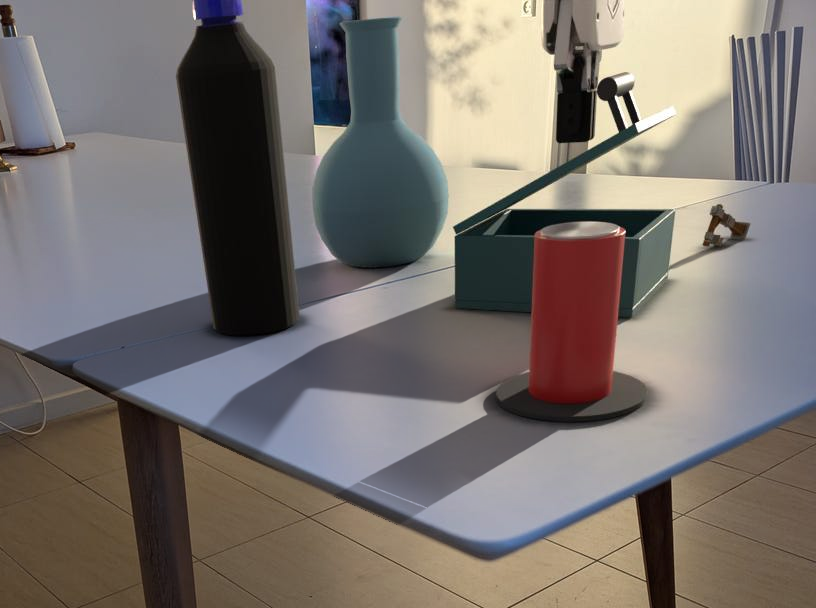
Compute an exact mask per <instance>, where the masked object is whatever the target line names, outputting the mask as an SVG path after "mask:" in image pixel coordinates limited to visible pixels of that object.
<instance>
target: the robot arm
mask: <svg viewBox="0 0 816 608" xmlns="http://www.w3.org/2000/svg"><path fill="white" fill-rule="evenodd" d="M625 3H626V2H625V0H541V11H540V12H541V16H540V19H541V20H540V28H541V29H540V30H541V33H540V34H541V35H540V36H541V46H542V49H543V50H544V51H545V52H546V53H547V54H549V55H551V56H554V57H553V70H554V71H555V72H556V92H557V97H556V122H555V123H556V126H555V141H556V143H557V144H575V143H587V142H589V141H592V140H593V139H594V138H595V135H596V119H597V102H598V101H597V100H598V95H597V87H598V84H599V76H600V75H599V74H600V65H601V64H600V63H601V61H602V57H603V51H604V50H609V49H613V48H616V47H617V46H619V45H620V43H621V42H622V40H623V38H624V29H625V28H624V27H625ZM580 47H582V49H577V48H580Z"/></svg>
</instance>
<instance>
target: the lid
mask: <svg viewBox="0 0 816 608" xmlns="http://www.w3.org/2000/svg"><path fill="white" fill-rule="evenodd" d="M634 87H635V77H634V76H633V74H632V73H630V72H628V71H624V72H619V73H616V74H612V75H610V76H606V77H604V78H602V79H601V80H600V81H598V85H597V89H596V90H597V98H599V100H601V101H603V102H607V104H608V107H609V109H610V112H611V115H612V118H613V120H614V123H615V126H616V128H617V132H618V133H616V134H614V135H612V136H610V137H609V138H607V139H604V140H603V141H601V142H599V143H598V144H596V145H594V146H592V147H591V148H589V149H587V150H585V151H584V152H582V153H580V154H578V155H577V156H574V157H573V158H571V159H569V160H568V161H566V162H564V163H563V164H561V165H558V166H557V167H555V168H554V169H552V170H550V171H549V172H547V173H545V174H543V175H541V176H539V177H538V178H536V179H534V180H533V181H531V182H529V183H526V184H525V185H524V186H522V187H520V188H518V189H516V190H515V191H513V192H511V193H509V194H508V195H506V196H503V198H501V199H499V200H497V201H496V202H493V203H491V204H490V205H488V206H486V207H485V208H483V209H481V210H480V211H478V212H476V213H474V214H472V215H471V216H469V217H467V218H466V219H464V220H462V221H460V222H458V223H457V224H454V225H453V226H452V229H453V231H454V233H455V236H456V235H458V234H460V233H462V232H463V231H465V230H467V229H469V228H471V227H473V226H475V225H477V224H479V223H481V222H483V221H485V220H487V219H489V218H491V217H492V216H494V215H496V214H498V213H500V212H502V211H504V210H506V209H510V208H511V207H513V206H515V205H516V204H519V203H520V202H522V201H523V200H525V199H527V198H529V197H531V196H532V195H534V194H536V193H538V192H540V191H541V190H543V189H545V188H547V187H548V186H550V185H552V184H554V183H556V182H557V181H559V180H561V179H563V178H565V177H567V176H569V175H570V174H571V173H573V172H575V171H578V170H579V169H581V168H582V167H584V166H586V165H588V164H590V163H592V162H594V161H595V160H597V159H599V158H601V157H602V156H604V155H606V154H608V153H610V152H611V151H613V150H615V149H617V148H618V147H621V146H623V145H624V144H626V143H628V142H630V141H631V140H633V139H634V138H636V137H639V136H640V135H642V134H644V133H646V132H647V131H649V130H651V129H653V128H655V127H656V126H658V125H660V124H662V123H664V122H665V121H667V120H669V119H671V118H672V117H674V116H676V115H677V112H676V109H675V106H674V105H672V106H670V107H667V108H666V109H664V110H661V111H659V112H657V113H655V114H652V115H650V116H648V117H646V118H644V119H642V118H641V115H640V111H639V109H638V107H637V104H636V100H635V98H634V95H633V92H632V90H633V89H634ZM620 97H622V99H623V103H624V105H625V108H626V111H627V113H628V116H629V119H630V123H631V125H629V126H628V124H627V121H626V117H625V115H624V113H623V110H622V107H621V104H620V101H619V99H618V98H620Z"/></svg>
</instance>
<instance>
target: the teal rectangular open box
mask: <svg viewBox="0 0 816 608" xmlns="http://www.w3.org/2000/svg"><path fill="white" fill-rule="evenodd" d="M675 217H676V209H675V208H507V209H505V210H503V211H501V212H499V213H497V214H495V215H494V216H492V217H490V218H488V219H486V220H484V221H482V222H480V223H478V224H476V225H474V226H472V227H470V228H468V229H466V230H464V231H463V232H461V233H459V234H457V235H456V234H455V235H454V308H455V309H463V310H479V311H480V310H483V311H484V310H485V311H503V312H517V313H518V312H520V313H532V289H533V263H534V237H535V233H536V232H537V231H539V230H542V229H543V228H545V227H548V226H551V225H556V224H561V223H570V222H606V223H612V224H616V225H618V226H619V227H622V228H624V229H625V242H624V253H623V264H622V275H621V287H620V298H619V309H618V318H628V319H629V318H633V317H634V316H635V315H636V314H637V313H638V312H639V311H640V310H641V309H642V308H643V307H644V305H646V303H647V302H648V301H649V300H650V299H651V298H652V297H653V296H654V295H655V294H656V293H657V292H658V291H659V290H660V289H661V288H662V287H663V286H664V284H666V283H667V282H668V279H669V270H670V261H671V254H672V253H671V252H672V244H673V235H674V227H675V220H676V219H675Z"/></svg>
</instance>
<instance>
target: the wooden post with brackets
mask: <svg viewBox="0 0 816 608" xmlns="http://www.w3.org/2000/svg"><path fill="white" fill-rule="evenodd" d="M709 215H710V216H711V219H710V222H709V225H708V227H707V231H705V232H704V233H705V234H704V236H703V242H702V244H701V245H702V246H704V247H708V248H709V247H710V245H712V246H713V247H722V244H723V242H724V237H721V234H715V230H716V229H717V228H718V227H719V226H720V225H721V226H723V227H724V228H727V229H729V231H730V236H729V237H730V239H735V240H736V239H737V240H746V238H747V235H748V232H749V230H750V226H751V222H744V221H736V218H734V217H733V216H732V215H731V214H730V213H726V212H725V209H724V205H723V204H722V203H717V204H716V205H712V206H711V208H710V211H709Z"/></svg>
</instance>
